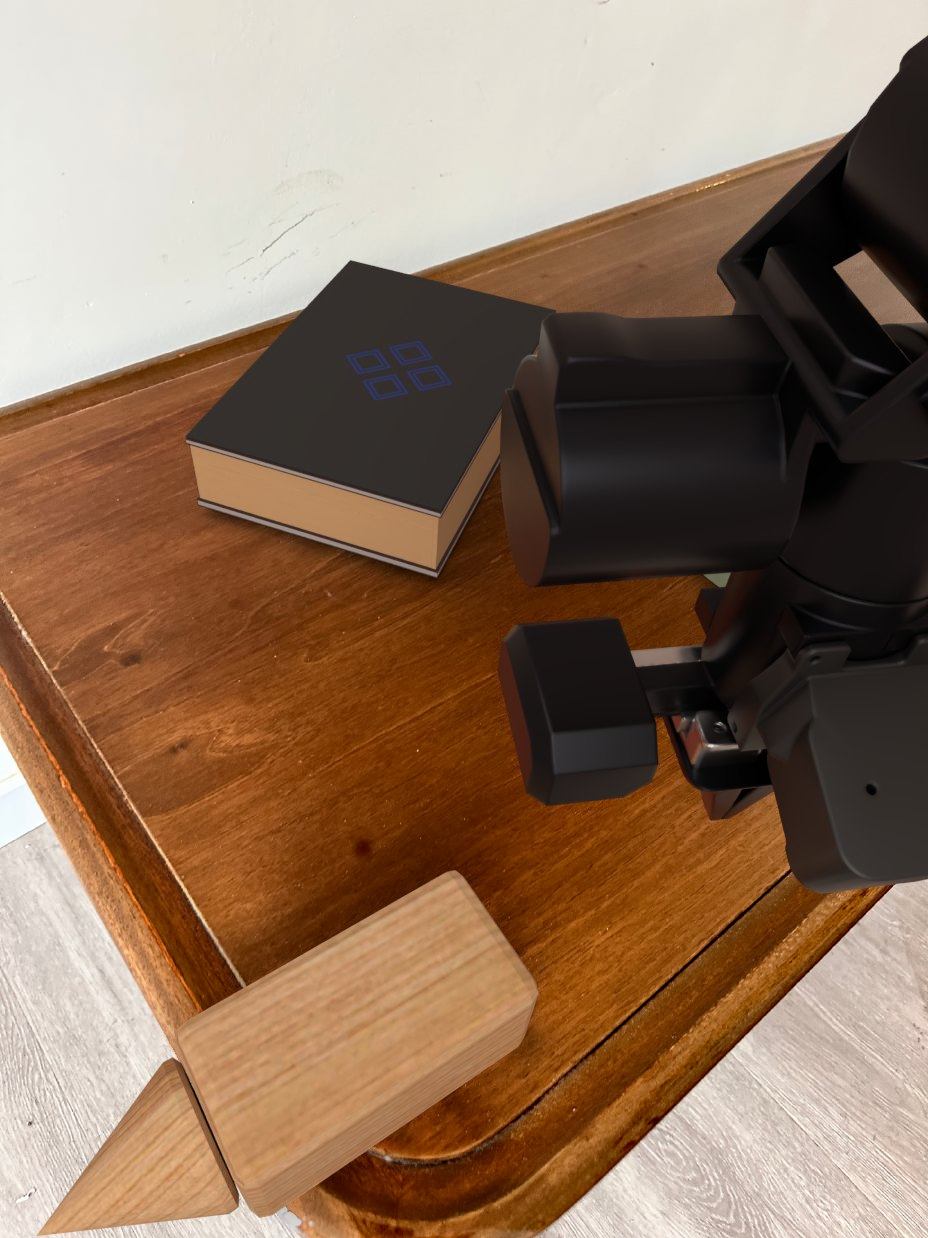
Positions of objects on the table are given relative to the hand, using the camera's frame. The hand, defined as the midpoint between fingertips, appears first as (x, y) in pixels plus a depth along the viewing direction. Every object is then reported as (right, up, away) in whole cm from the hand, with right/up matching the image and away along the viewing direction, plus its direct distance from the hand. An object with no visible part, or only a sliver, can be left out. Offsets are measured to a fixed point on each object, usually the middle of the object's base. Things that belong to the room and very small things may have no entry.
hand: (714, 810), depth 39 cm
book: (-16, +21, +32) cm, 42 cm away
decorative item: (-9, -7, +3) cm, 12 cm away
